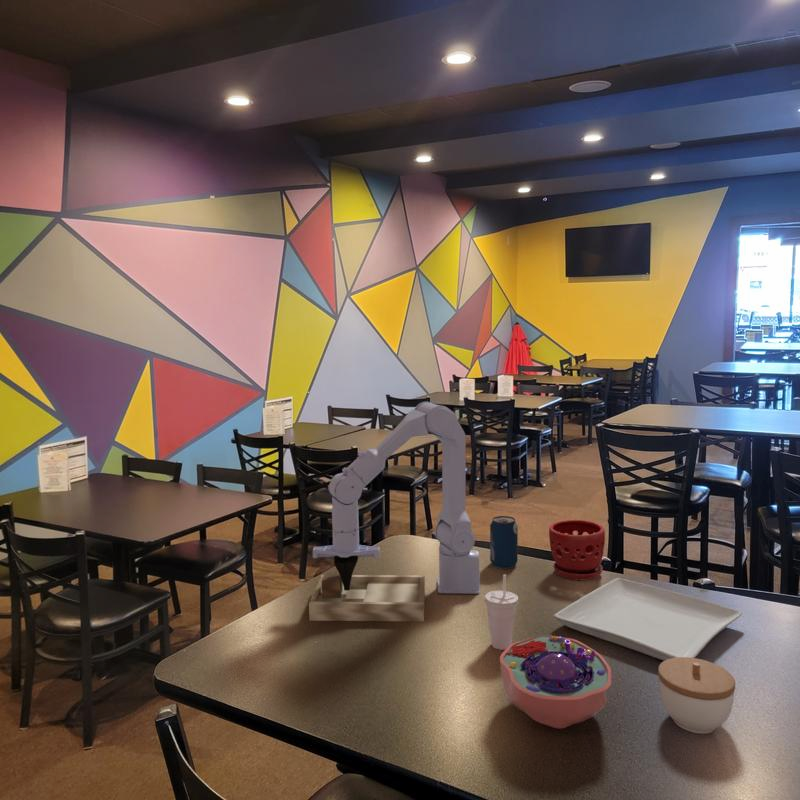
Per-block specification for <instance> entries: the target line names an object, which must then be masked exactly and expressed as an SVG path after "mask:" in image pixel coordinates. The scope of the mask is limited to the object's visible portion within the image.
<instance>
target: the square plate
mask: <svg viewBox="0 0 800 800" xmlns="http://www.w3.org/2000/svg"><path fill="white" fill-rule="evenodd" d="M742 615H743V613H742V611H740V610H738V609H734V608H731V607H729V606H728V607H727V606H724V605H721V604H717V603H714V602H712V601H708V600H705V599H703V598H702V599H701V598H697V597H695V596H692V595H691V596H690V595H686V594H684V593H680V592H678V591H677V592H676V591H674V590H669V589H665V588H661V587H658V586H654V585H650V584H646V583H641V582H637V581H632V580H630V579H625V578H620V577H616V578H613V579H611V580H610V581H608V582H607V583H604V584H603V585H601V586H599V587H597V588H595V589H594V590H593V591H591V592H589V593H587V594H585V595H584V596H582V597H580V598H579V599H577V600H575V601H574V602H572V603H570V604H568V605H567V606H565V607H564V608H562V609H561V610H559V611H558V612H556V613H554V614H553V618H555V619H556V620H557V621H558V622H559V623H561V625H563V626H566V627H568V628H570V629H572V630H574V631H577V632H581V633H584V634H586V635H590V636H593V637H595V638H598V639H601V640H604V641H607V642H610V643H613V644H617V645H620V646H622V647H624V648H627V649H631V650H634V651H635V652H636V651H637V652H639V653H642V654H644V655H648V656H650V657H652V658H655V659H658V660H661V661H662V662H663V661H665V660H667V659H671V658H676V657H689V658H696V657H697V656H698V655H699V654H700V653H701V651H702V650H703V649H704V648H705V647H706V646H707V644H708V643H709V642H710V641H711V640H712V639H713V638H714V637H715V636H717V635H718V634H719V633H720V632H721V631H723V630H724V629H726V628H727V627H729V625H731V624H732V623H733V622H734V621H736V620H737V619H738V618H740V617H741V616H742Z"/></svg>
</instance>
